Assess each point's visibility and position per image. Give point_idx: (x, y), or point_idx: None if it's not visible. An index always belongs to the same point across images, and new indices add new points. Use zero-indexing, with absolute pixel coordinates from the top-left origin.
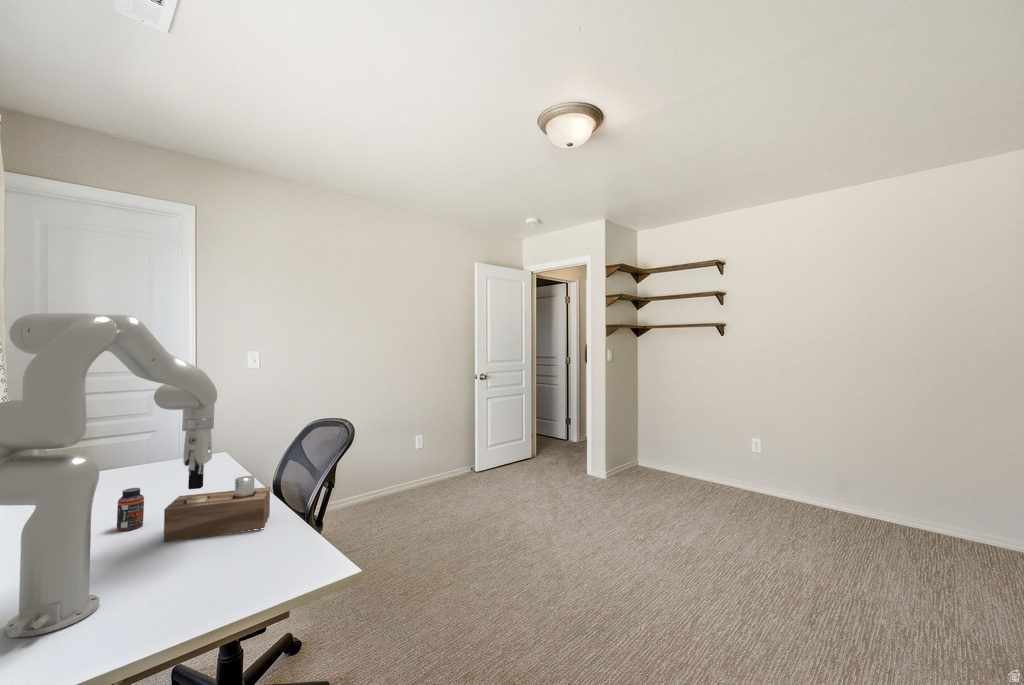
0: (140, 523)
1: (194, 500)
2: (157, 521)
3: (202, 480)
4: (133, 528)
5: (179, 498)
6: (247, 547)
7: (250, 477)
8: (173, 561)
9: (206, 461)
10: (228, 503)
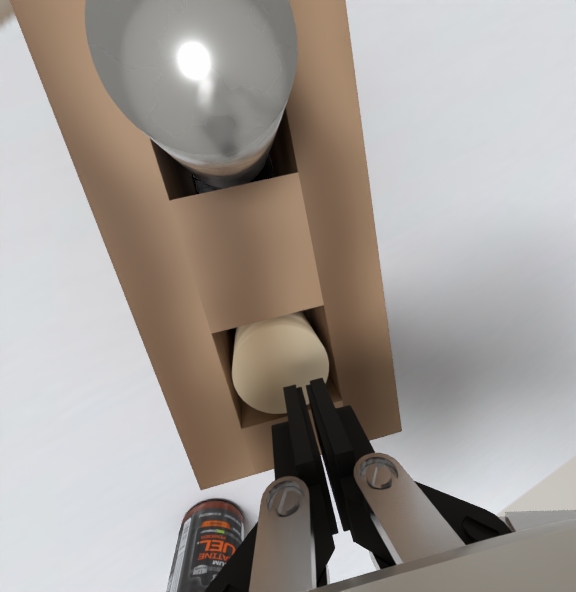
0: (213, 509)
1: (307, 370)
2: (161, 486)
3: (303, 414)
4: (233, 506)
5: (245, 464)
6: (463, 46)
7: None
8: (496, 253)
9: (507, 575)
10: (363, 161)
